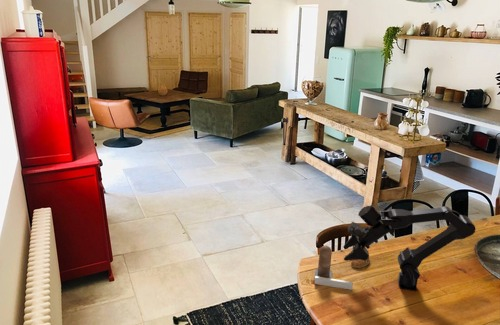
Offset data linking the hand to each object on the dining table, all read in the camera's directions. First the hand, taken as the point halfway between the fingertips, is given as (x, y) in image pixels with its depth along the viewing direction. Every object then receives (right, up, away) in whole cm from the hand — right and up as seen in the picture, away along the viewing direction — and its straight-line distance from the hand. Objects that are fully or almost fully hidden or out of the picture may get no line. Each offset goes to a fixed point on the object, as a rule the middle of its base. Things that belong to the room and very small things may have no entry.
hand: (344, 253), depth 165 cm
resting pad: (-8, -10, +5) cm, 14 cm away
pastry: (+11, -8, +14) cm, 19 cm away
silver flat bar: (-5, -13, -2) cm, 14 cm away
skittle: (-8, -10, +5) cm, 13 cm away
